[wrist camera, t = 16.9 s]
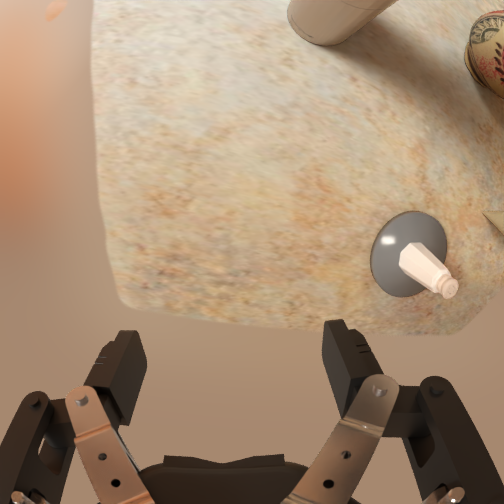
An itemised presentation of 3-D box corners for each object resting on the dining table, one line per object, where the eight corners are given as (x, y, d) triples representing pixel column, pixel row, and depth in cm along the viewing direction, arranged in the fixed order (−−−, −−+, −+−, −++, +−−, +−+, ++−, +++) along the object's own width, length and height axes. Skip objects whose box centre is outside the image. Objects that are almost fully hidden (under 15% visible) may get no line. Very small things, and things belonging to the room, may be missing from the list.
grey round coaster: (420, 192, 41) (425, 194, 39) (452, 255, 45) (456, 259, 44) (353, 251, 44) (357, 254, 42) (394, 307, 48) (397, 312, 46)
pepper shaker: (423, 235, 42) (465, 263, 31) (428, 265, 44) (467, 297, 33) (394, 249, 42) (433, 281, 32) (401, 279, 44) (436, 315, 34)
